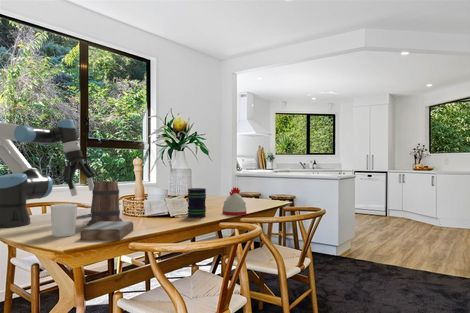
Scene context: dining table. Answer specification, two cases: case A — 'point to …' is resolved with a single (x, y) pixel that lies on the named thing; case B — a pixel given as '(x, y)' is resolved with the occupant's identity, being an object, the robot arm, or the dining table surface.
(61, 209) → the candle holder
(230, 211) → the pom-pom beanie
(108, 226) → the dock
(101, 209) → the tankard
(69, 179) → the robot arm
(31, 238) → the dining table surface
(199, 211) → the storage jar
